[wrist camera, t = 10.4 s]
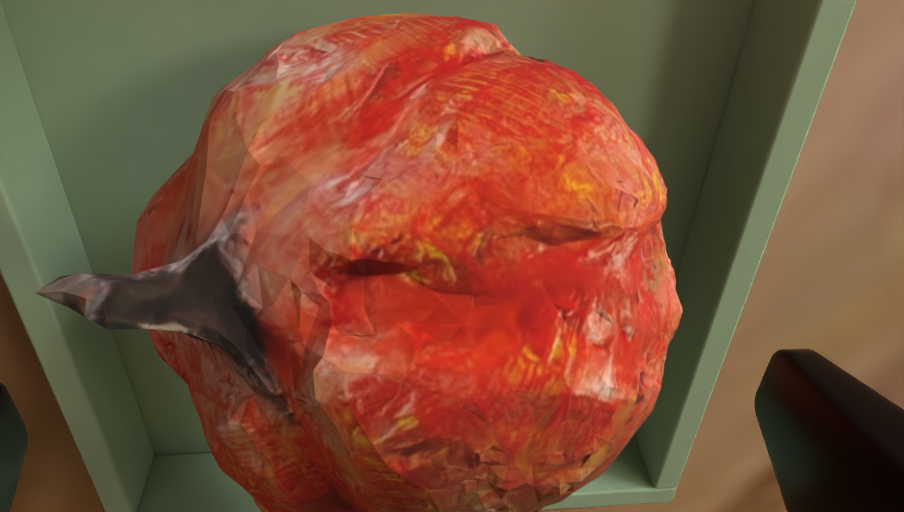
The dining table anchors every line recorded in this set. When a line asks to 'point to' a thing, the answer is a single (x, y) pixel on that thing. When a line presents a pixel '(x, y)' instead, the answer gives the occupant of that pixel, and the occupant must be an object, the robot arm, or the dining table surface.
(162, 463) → the tray
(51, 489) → the dining table surface
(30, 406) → the dining table surface
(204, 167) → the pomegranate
